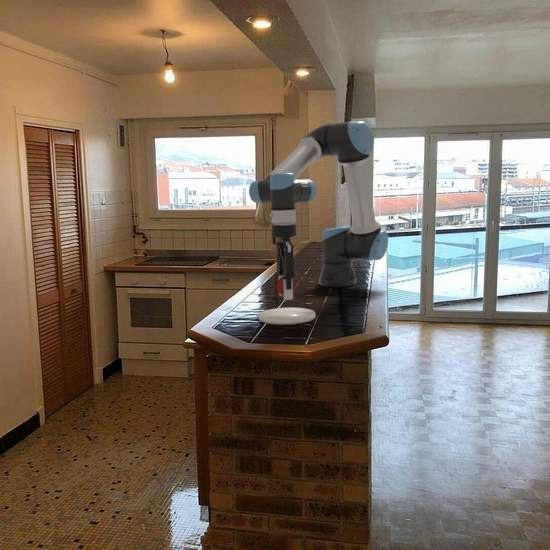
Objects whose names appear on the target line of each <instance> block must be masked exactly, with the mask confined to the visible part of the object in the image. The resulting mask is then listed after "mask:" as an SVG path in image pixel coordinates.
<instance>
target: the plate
mask: <svg viewBox="0 0 550 550" xmlns="http://www.w3.org/2000/svg"><path fill="white" fill-rule="evenodd" d="M316 316H317V315H316V311H315V310H312V309H309V308H305V307H278V308H271V309H267V310H263V311H260V312H259V313H258V321H259V322H262V323H264V324H268V325H296V324H302V323H308V322H311V321H313V320H315V319H316V318H317V317H316Z"/></svg>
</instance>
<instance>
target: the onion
mask: <svg viewBox="0 0 550 550" xmlns="http://www.w3.org/2000/svg"><path fill="white" fill-rule="evenodd" d="M283 277H284V274H283ZM292 281H293V294H294V292H295V290H296V284H295V281H294V279H292ZM276 290H277V292H278V294H279V293H280V294H281V295H282V296H281V297H283V298H284V284H283V279H282V277H281V278H280V279H279V278H278V281H277V283H276Z"/></svg>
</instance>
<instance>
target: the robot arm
mask: <svg viewBox="0 0 550 550" xmlns="http://www.w3.org/2000/svg"><path fill="white" fill-rule="evenodd" d="M374 140H375V139H374V135H373V131H372V129H371V127H370V126H369V125H368V124H367V123H366V122H364V121H361V120H360V121H356V120H355V121H353V120H352V121H345V122H335V123H326V124H323V125H320V126H318V127H316V128H315V129H313V130H312V131H310V132H309V133H307V134H306V135H304V137H302V139H301V140H300V141H299V142H298V145H297V147H296V148H295V149H294V150H293V151H292V152H291V153H290V154H289V155H287V156H286V158H285V159H284V160H283V161H282V162H281V163H280V164H278V165H277V166H276V167H275V168H274V169H273V170H272V171H271V172H270V173H269V174H268V175H267V176H266V177H265V178H264V179H263V180H260V179H258V180H254V181H252V182H251V183H250V185H249V188H248V195H249V198H250V200H251V201H252V202H254V203H255V204H270V210H271V211H270V212H271V213H269V217H271V223H272V225H271V237H273V238H278V241H276V242H275V246H276V247H275V248H276V272H277V274H278V280H279V279H280V278H281V277H282V279H283V284H284V297H283V296H282V295H281V294H280V293H279V292H278V294H279V297H283V300H284V301H287V300H289V301H290V300H294V293H293V281H294V279H293V278H295V266H294V265H295V264H294V247H295V246H294V245H293V244H292V242H291V238H293V237H296V236H297V225H296V224H295V223H296V222H297V215H296V214H297V213H296V211H297V210H296V204H302V203H303V204H307V203H309V202H311V201H313V200H314V199H315V198H316V196H317V192H318V191H317V189H318V188H317V186H316V185H317V184H315V182H314V181H313V180H311V179H308V178H298V177H299V176H300V175H301V174H302V173H303V172H304V171H305V170H306V169H307V168H308V167H309V166H310V165H311V164H312V163H314V162H317V161H319V160H320V159H321V158H325V157H335V156H336V157H337V163H338V164H340V165H342V167H343V173H344V179H345V185H346V191H347V195H348V203H349V207H350V214H351V219H352V225H349V226H339V227H333V228H327V229H324V230H323V231H322V235H321V238H322V239H321V243H322V244H321V245H322V246H321V248H322V268H321V271H320V276H319V278H318V284H319V285H320V286H321V287H329V288H330V287H332V288H343V287H350V286H354V285H357V276H356V273H355V269H354V267H353V263H352V262H353V261H352V260H361V261H379V260H381V259H383V258H384V256H385V255H386V252H387V249H388V245H389V234H388V232H387V231H386V230H384V229H381V224H380V222H378V221H377V220H376V216H375V208H374V204H373V196H372V188H371V183H370V177H369V171H368V165H367V161H368V160H369V159H370V154H371V153H372V151H373V150H374V142H375V141H374ZM283 274H284V277H283ZM292 279H293V281H292Z"/></svg>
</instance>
